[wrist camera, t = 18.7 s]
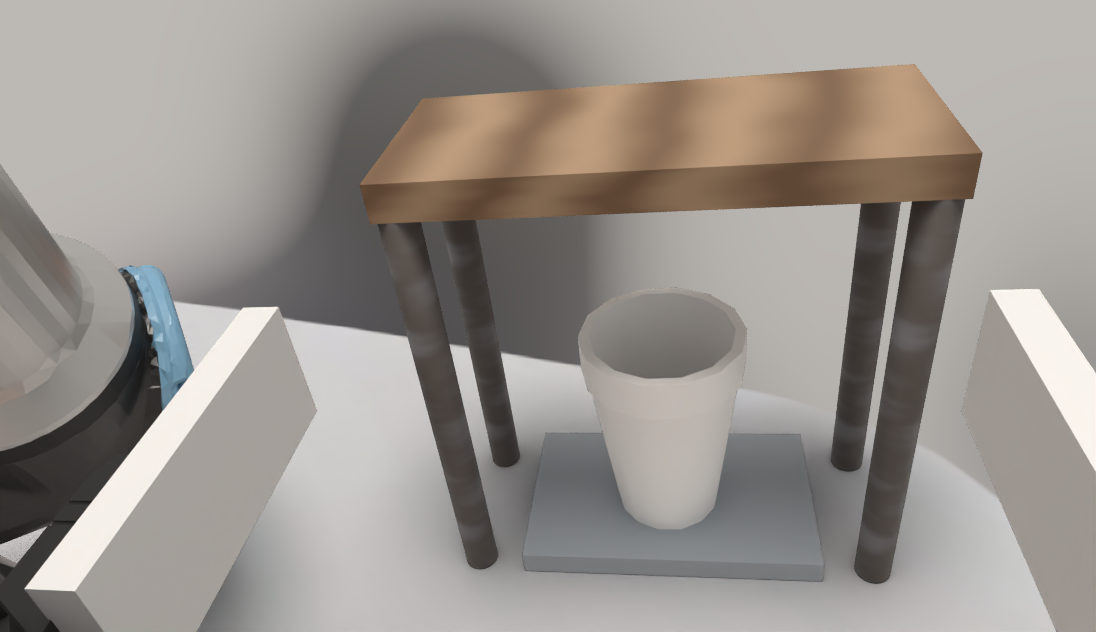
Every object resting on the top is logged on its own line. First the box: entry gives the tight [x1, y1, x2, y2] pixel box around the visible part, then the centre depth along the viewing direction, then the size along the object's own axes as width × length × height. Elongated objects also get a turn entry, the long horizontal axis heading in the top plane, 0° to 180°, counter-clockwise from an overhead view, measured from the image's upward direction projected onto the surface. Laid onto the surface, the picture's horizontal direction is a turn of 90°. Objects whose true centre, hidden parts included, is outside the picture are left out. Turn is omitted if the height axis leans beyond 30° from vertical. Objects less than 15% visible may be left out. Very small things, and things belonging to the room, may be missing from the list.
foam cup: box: [578, 287, 747, 530], centre depth 49 cm, size 10×9×13 cm
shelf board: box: [522, 433, 824, 581], centre depth 53 cm, size 18×11×2 cm, turn 83°
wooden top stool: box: [360, 64, 982, 583], centre depth 46 cm, size 26×11×27 cm, turn 83°
